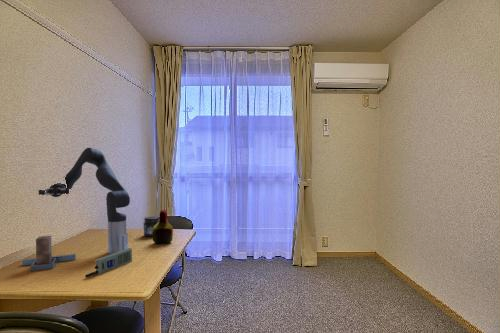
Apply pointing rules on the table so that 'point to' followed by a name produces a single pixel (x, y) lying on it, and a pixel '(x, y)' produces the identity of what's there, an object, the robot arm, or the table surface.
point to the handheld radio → (112, 261)
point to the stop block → (43, 250)
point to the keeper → (50, 265)
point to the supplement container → (149, 225)
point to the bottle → (162, 230)
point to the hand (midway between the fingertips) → (52, 192)
